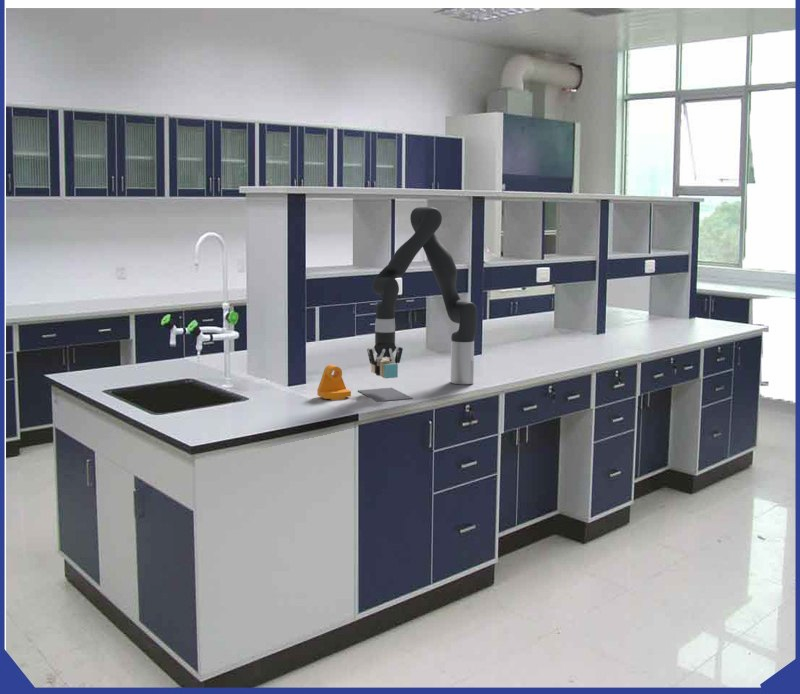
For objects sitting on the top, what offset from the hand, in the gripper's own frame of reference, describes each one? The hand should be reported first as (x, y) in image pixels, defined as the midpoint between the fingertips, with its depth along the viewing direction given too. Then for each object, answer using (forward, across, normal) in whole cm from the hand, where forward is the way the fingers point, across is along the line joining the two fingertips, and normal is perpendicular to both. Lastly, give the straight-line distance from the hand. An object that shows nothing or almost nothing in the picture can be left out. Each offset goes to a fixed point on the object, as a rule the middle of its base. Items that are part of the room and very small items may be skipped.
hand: (384, 374), depth 327 cm
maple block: (-3, 0, +8) cm, 8 cm away
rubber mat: (+8, 0, 0) cm, 8 cm away
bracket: (+8, -19, +3) cm, 21 cm away
